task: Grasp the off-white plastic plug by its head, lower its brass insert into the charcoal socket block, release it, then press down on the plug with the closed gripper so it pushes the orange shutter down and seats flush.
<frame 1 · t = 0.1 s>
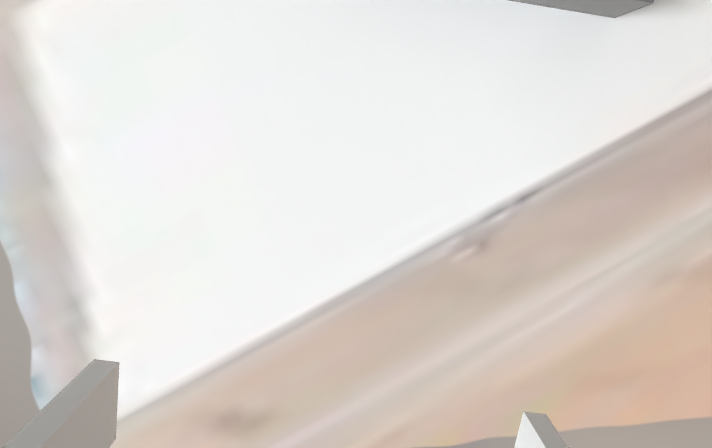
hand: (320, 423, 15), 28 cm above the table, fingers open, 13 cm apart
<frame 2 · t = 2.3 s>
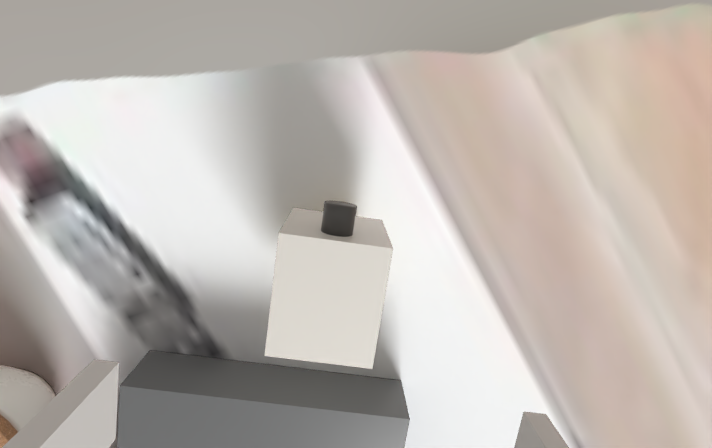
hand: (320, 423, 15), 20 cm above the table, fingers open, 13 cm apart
plug: (331, 250, 35), on the table
lidded jar: (20, 401, 37), on the table
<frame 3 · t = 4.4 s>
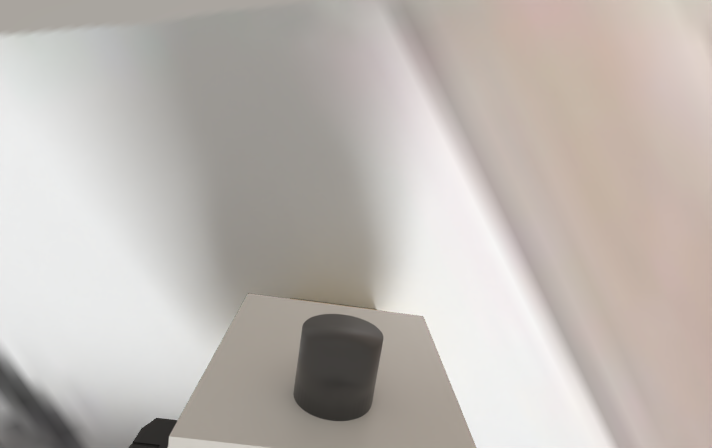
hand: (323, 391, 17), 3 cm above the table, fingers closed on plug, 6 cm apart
plug: (326, 352, 20), on the table, touching gripper
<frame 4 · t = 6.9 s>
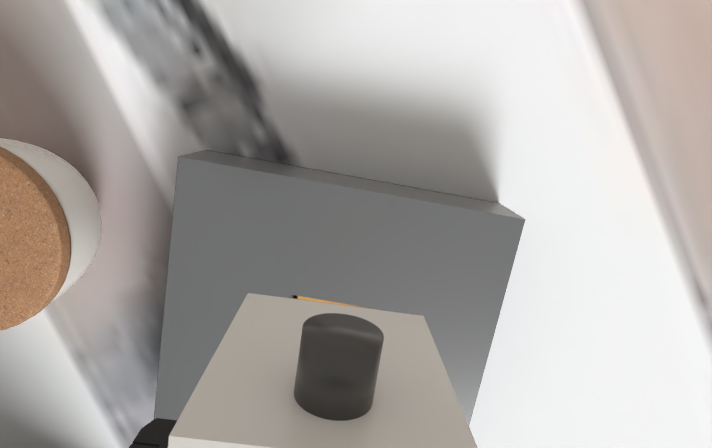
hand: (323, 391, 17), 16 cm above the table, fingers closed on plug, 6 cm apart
plug: (326, 352, 20), point 13 cm above the table, touching gripper
shutter: (327, 330, 31), point 3 cm above the table, slide at 0.0 cm
lidded jar: (53, 209, 32), on the table
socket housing: (329, 312, 33), on the table
when the fingers open (6 cm above the table, at t = 9.2 s): plug drops 2 cm, resting on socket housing.
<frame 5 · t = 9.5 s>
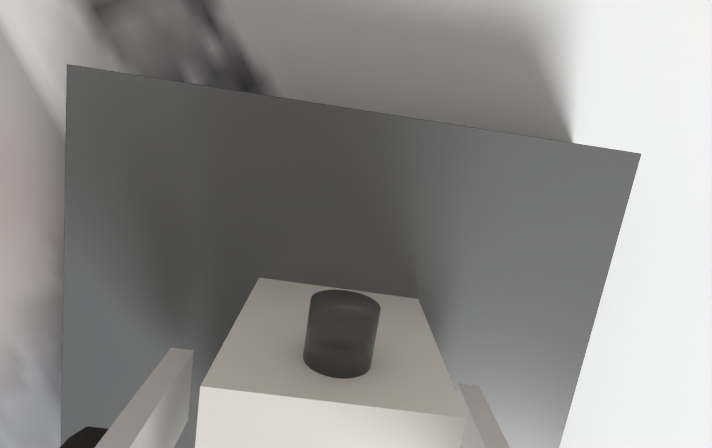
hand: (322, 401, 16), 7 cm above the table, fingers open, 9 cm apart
plug: (329, 335, 21), point 2 cm above the table, touching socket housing
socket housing: (329, 318, 23), on the table
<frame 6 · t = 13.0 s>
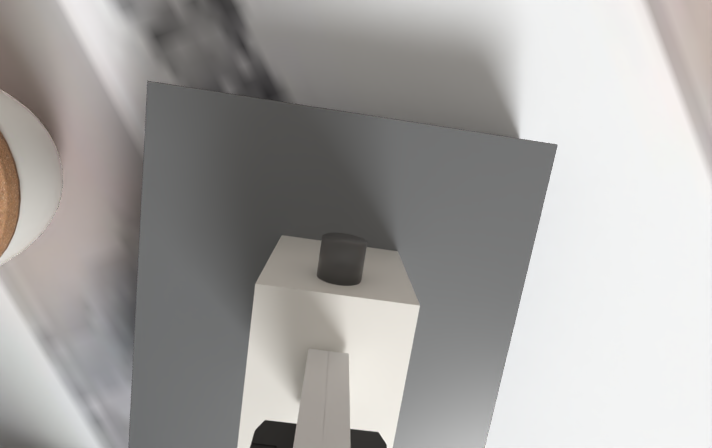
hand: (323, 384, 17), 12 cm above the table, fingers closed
plug: (332, 285, 28), point 2 cm above the table, touching gripper, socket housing
lidded jar: (8, 165, 28), on the table
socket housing: (331, 275, 29), on the table
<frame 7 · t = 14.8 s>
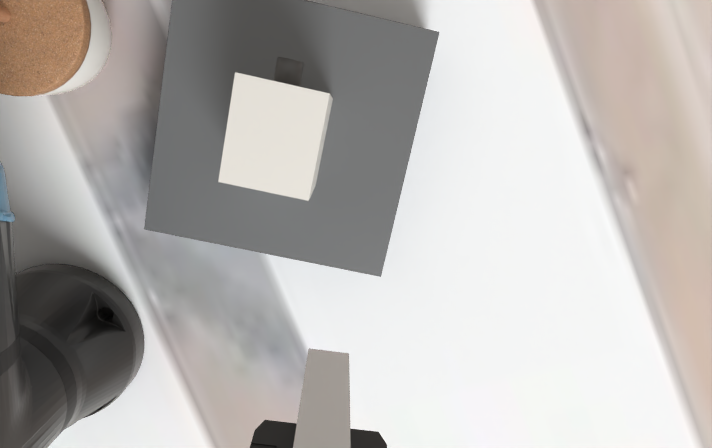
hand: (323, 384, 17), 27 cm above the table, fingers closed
plug: (291, 133, 40), point 2 cm above the table, touching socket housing
lidded jar: (71, 35, 40), on the table
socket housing: (293, 132, 42), on the table
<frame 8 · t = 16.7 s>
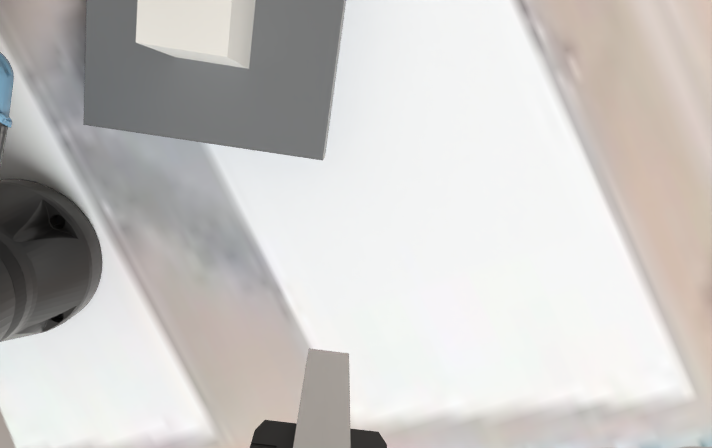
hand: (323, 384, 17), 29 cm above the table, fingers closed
plug: (225, 25, 40), point 2 cm above the table, touching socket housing
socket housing: (229, 28, 42), on the table
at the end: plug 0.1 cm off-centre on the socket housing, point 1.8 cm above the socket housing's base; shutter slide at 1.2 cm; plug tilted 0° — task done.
